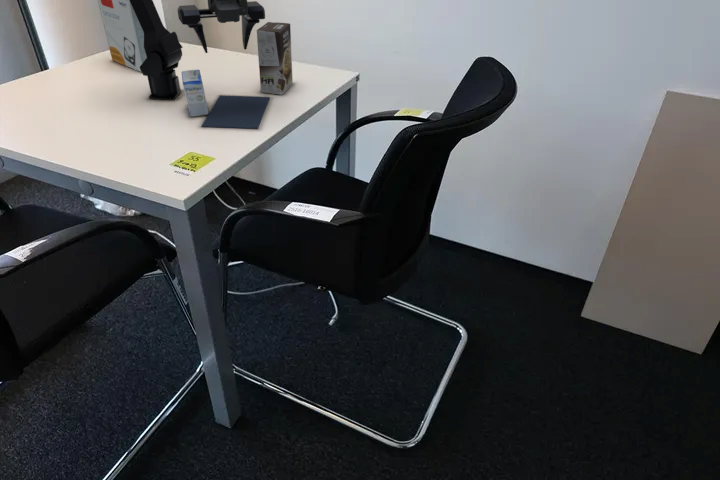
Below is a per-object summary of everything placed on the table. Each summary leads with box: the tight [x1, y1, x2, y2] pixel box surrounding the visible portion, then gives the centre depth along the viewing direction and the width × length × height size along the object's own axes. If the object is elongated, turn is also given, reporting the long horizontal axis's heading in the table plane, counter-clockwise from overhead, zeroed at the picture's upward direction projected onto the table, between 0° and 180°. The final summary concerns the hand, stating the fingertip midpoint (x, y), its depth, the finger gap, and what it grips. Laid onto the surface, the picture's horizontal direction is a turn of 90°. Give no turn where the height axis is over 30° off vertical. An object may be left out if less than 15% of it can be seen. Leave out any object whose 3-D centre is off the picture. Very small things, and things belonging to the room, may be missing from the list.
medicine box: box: [181, 69, 209, 118], centre depth 129 cm, size 8×4×9 cm, turn 17°
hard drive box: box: [97, 0, 147, 73], centre depth 152 cm, size 16×8×20 cm, turn 53°
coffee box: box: [256, 21, 293, 96], centre depth 141 cm, size 9×6×16 cm
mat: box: [200, 95, 271, 130], centre depth 132 cm, size 13×19×1 cm
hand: (225, 50), depth 127 cm, fingers open, 9 cm apart
